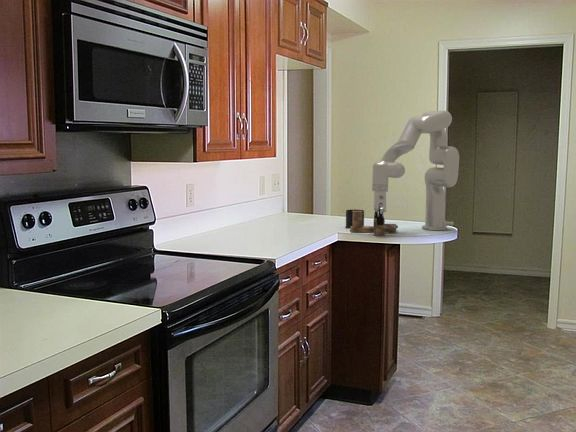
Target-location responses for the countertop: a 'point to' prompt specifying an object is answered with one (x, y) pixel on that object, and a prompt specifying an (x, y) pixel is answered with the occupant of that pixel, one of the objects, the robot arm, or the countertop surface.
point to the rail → (359, 228)
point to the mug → (351, 217)
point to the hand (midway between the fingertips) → (378, 223)
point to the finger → (379, 228)
